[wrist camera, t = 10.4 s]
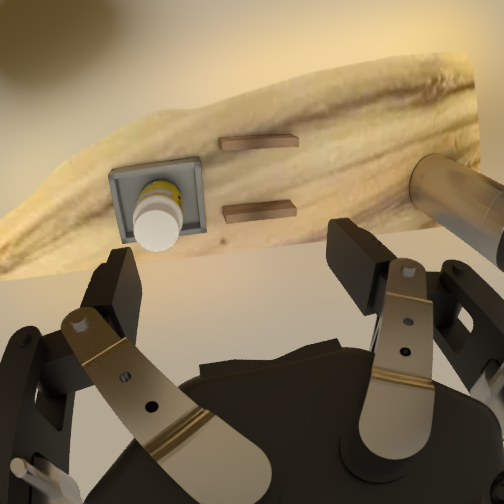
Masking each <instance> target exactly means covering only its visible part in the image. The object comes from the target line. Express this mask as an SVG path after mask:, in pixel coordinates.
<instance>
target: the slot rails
mask: <svg viewBox="0 0 504 504" xmlns="http://www.w3.org/2000/svg"><path fill="white" fill-rule="evenodd" d="M219 147H220V149H221V150H222V151H231V150H244V149H260V148H280V147H299V138H298V137H296V136H294V135H292V134H275V135H252V136H236V137H223V138H219ZM223 215H224V218H225V221H226V224H229V223H237V222H246V221H255V220H264V219H273V218H282V217H292V216H296V215H297V208H296V206H295V205H294V204H293V203H292V202H291V201H290V200H285V201H274V202H264V203H254V204H244V205H235V206H226V207H223Z"/></svg>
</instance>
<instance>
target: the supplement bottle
mask: <svg viewBox="0 0 504 504" xmlns="http://www.w3.org/2000/svg"><path fill="white" fill-rule="evenodd" d="M182 224H183V207H182V194H181V191H180V189H179V187H178V186H177V185H176V184H175V183H174V182H172V181H170V180H168V179H155V180H152V181H150V182H148V183H147V184H146V185H145V186H144V187H143V189H142V191H141V193H140V196H139V199H138V201H137V204H136V207H135V210H134V214H133V225H134V236H135V239H136V241H137V242H138V244H139V245H140V246H141V247H143V248H144V249H146V250H148V251H152V252H162V251H165V250H167V249H169V248H171V247H172V246H173V245H174V244H175V243H176V241H177V239H178V236H179V232H180V230H181V228H182Z"/></svg>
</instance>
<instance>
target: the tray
mask: <svg viewBox="0 0 504 504" xmlns="http://www.w3.org/2000/svg"><path fill="white" fill-rule="evenodd" d="M108 178H109V184H110V189H111V194H112V199H113V204H114V209H115V214H116V219H117V223H118V228H119V232H120V236H121V240H122V244H125V243H132V242H137V241H136V239H135V236H134V225H133V214H134V210H135V207H136V204H137V201H138V199H139V196H140V193H141V191H142V189H143V187H144V186H145V185H146V184H147V183H148V182H150V181H152V180H155V179H168V180H170V181H172V182H174V183H175V184H176V185H177V186H178V187H179V189H180V191H181V194H182V207H183V224H182V228H181V230H180V232H179V236H183V235H191V234H199V233H206V232H207V230H206V220H205V209H204V198H203V187H202V175H201V162H200V158H199V157H194V158H185V159H177V160H169V161H162V162H155V163H148V164H141V165H135V166H129V167H123V168H117V169H112V170H111V172H110V173H109V174H108Z"/></svg>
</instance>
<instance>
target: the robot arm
mask: <svg viewBox="0 0 504 504" xmlns="http://www.w3.org/2000/svg"><path fill="white" fill-rule="evenodd" d="M410 197H411V200H412V202H413V204H414V206H415V207H416V208H418V209H419V210H421V211H422V212H424V213H425V214H427V215H428V216H429V217H431V218H432V219H434V220H435V221H437V222H438V223H439V224H441V225H442V226H444V227H445V228H447V229H448V230H449V231H451V232H452V233H453V234H455V235H456V236H458V237H459V238H460V239H462V240H463V241H464V242H466V243H467V244H468V245H470V246H471V247H472V248H474V249H475V250H476V251H478V252H479V253H481V255H483V256H484V257H485V258H487V259H488V260H489V261H490V262H492V263H493V264H494V265H495V266H496V267H498V268H499V269H500V270H501V271H502V272H504V185H502V184H500V183H498V182H497V181H495V180H492V179H491V178H489V177H487V176H485V175H483V174H481V173H479V172H476V171H474V170H472V169H470V168H468V167H466V166H464V165H461V164H459V163H457V162H455V161H453V160H450V159H448V158H446V157H443V156H441V155H438V154H432V155H428V156H426V157H425V158H424V159H422V160H421V161H420V162H419V164H418V165H417V167H416V168H415V170H414V172H413V175H412V178H411V182H410ZM326 259H327V263H328V266H329V267H330V269H331V270H332V271H333V273H334V274H335V275H336V277H337V278H338V280H339V281H340V282H341V284H342V285H343V287H344V288H345V289H346V291H347V292H348V294H349V295H350V296H351V298H352V299H353V301H354V302H355V304H356V305H357V306H358V308H359V309H360V311H361V312H362V313H363V315H364V316H367V315H371V314H375V313H376V314H377V319H376V322H375V327H374V332H373V336H372V340H371V345H370V348H369V351H367V350H363V349H359V348H349V347H341V345H340V343H339V341H338V339H337V338H335V339H332V340H327V341H323V342H319V343H315V344H310V345H306V346H304V347H301V348H299V349H297V350H295V351H292V352H290V353H288V354H286V355H284V356H281V357H279V358H277V359H274V360H236V359H234V360H228V361H221V362H215V363H209V364H201V365H199V367H200V375H199V376H197V377H194V378H192V379H190V380H188V381H186V382H184V383H183V384H181V385H180V386H179V387H177V386H175V385H174V384H173V383H172V382H171V381H170V380H169V379H168V378H167V377H166V376H165V375H163V373H162V372H161V371H160V370H159V369H157V368H156V367H155V366H154V365H153V364H152V363H151V362H150V361H149V360H148V359H147V358H146V357H145V356H144V355H143V354H142V353H141V352H140V351H139V350H138V348H137V347H136V346H135V344H136V335H137V327H138V319H139V312H140V305H141V298H142V286H141V280H140V277H139V274H138V270H137V267H136V263H135V259H134V256H133V252H132V250H131V248H130V247H125V248H118V249H112V250H111V252H110V255H109V257H108V260H107V263H102V264H100V266H99V267H98V268H97V269H96V270H95V271H94V272H93V275H92V277H91V281H90V282H89V285H88V288H87V290H86V292H85V295H84V297H83V300H82V303H81V306H80V308H78V309H76V310H74V311H72V312H70V313H69V314H68V315H67V316H66V317H65V318H64V319H63V321H62V323H61V330H58V331H55V332H53V333H50V334H47V335H44V336H42V334H41V333H40V331H39V329H38V328H37V327H35V326H26V327H23V328H21V329H19V330H18V331H16V332H15V333H14V334H13V336H11V338H10V340H9V342H8V344H7V347H6V349H5V352H4V354H3V357H2V360H1V362H0V504H504V447H503V441H504V300H503V299H502V298H501V297H500V296H499V294H498V293H497V292H495V291H494V289H493V288H492V287H490V285H489V284H487V282H485V281H484V280H483V279H482V278H481V277H480V276H479V275H478V274H477V273H476V272H475V271H474V270H473V269H472V268H471V267H470V266H468V265H467V264H465V263H463V262H461V261H457V260H446V261H445V262H444V263H443V265H442V269H441V271H440V272H426V270H425V268H424V267H423V266H422V265H421V264H420V263H419V262H417V261H414V260H412V259H408V258H397V257H396V256H395V255H394V254H393V253H392V252H391V251H390V250H389V249H388V248H387V247H385V246H384V245H382V243H381V242H380V241H379V240H377V238H376V237H375V236H374V235H373V234H371V233H370V232H369V231H367V230H364V229H362V228H360V227H358V226H357V225H356V224H354V223H353V222H352V221H351V220H350V219H349V218H338V219H331V220H330V221H329V223H328V233H327V247H326ZM462 306H463V307H464V309H465V310H466V311H467V312H468V313H469V314H470V316H471V317H472V319H473V324H474V325H473V330H472V332H471V333H470V332H469V331H468V330H467V328H466V327H465V326H464V325H463V324H462V322H461V321H460V320H459V319H458V315H459V313H460V311H461V308H462ZM433 339H434V341H435V342H436V344H437V345H438V346H439V348H440V349H441V351H442V352H443V354H444V355H445V356H446V358H447V359H448V361H449V362H450V364H451V365H452V367H453V368H454V370H455V371H456V373H457V374H458V376H459V378H460V379H461V381H462V382H463V384H464V385H465V387H466V388H467V390H468V392H469V393H470V396H468V395H465V394H463V393H461V392H459V391H456V390H454V389H452V388H449V387H447V386H445V385H443V384H440V383H438V382H436V381H434V380H432V379H431V378H432V361H433ZM92 385H95V386H96V388H97V389H98V391H99V392H100V393H101V395H102V396H103V398H104V399H105V400H106V402H107V403H108V404H109V406H110V407H111V408H112V410H113V411H114V412H115V414H116V415H117V416H118V418H119V419H120V420H121V421H122V422H123V424H124V425H125V426H126V428H127V429H128V430H129V431H130V433H131V434H132V435H133V436H134V437H135V438H134V439H133V440H132V441H131V443H130V444H129V445H128V446H127V447H126V449H125V450H124V451H123V453H122V454H121V455H120V456H119V457H118V459H117V460H116V461H115V462H114V464H113V465H112V466H111V467H110V469H109V470H108V471H107V472H106V473H105V475H104V476H103V477H102V478H101V480H100V481H99V482H98V483H97V484H96V486H95V487H94V488H93V489H92V490H91V492H90V493H89V494H88V496H87V497H86V499H85V501H84V503H83V502H82V499H81V497H80V490H79V487H78V485H77V483H76V482H75V480H74V479H73V478H72V477H70V476H69V453H70V437H71V425H72V415H73V406H74V398H75V391H77V390H81V389H84V388H87V387H90V386H92ZM36 388H37V389H38V393H37V398H36V403H35V393H36Z"/></svg>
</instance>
